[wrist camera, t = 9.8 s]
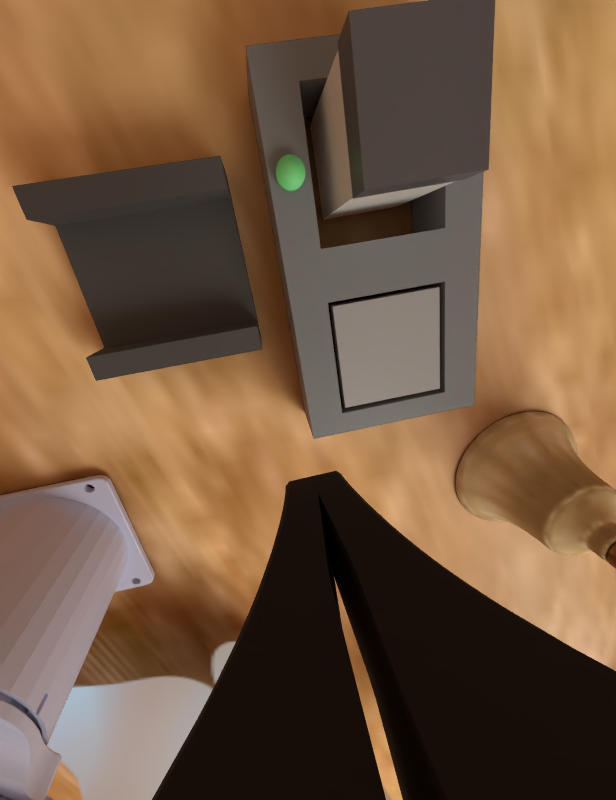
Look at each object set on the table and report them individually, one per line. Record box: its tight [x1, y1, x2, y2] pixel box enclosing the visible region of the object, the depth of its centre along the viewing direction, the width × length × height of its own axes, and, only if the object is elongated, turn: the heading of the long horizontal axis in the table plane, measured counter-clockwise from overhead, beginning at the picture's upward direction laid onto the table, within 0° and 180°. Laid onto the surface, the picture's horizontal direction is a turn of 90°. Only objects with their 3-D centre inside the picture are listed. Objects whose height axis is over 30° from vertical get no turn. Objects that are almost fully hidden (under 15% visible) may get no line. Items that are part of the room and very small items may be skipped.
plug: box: [310, 0, 495, 219], centre depth 11 cm, size 4×4×6 cm
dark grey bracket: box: [12, 156, 262, 381], centre depth 14 cm, size 7×7×2 cm
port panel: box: [246, 34, 483, 439], centre depth 14 cm, size 8×14×3 cm, turn 9°
